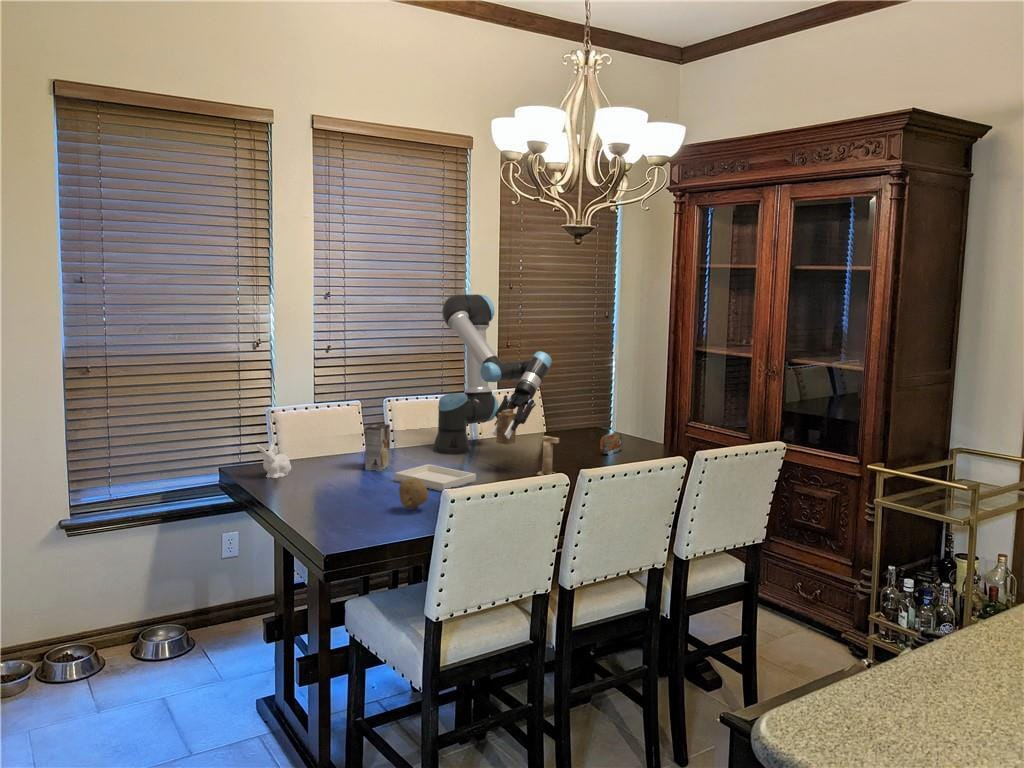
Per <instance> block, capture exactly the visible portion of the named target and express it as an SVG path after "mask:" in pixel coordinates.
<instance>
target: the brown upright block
mask: <svg viewBox="0 0 1024 768" xmlns="http://www.w3.org/2000/svg"><path fill="white" fill-rule="evenodd" d="M515 417H516V413H514V409H513V410H511V409H508V410H503V411H501V413H498V421H497V420H496V421H497V436H496V441H495V442H496V443H497V444H502V445H506V446H508V445H513V444H515V443H516V435H517V429H516V430H515V431H513V433H512V434H511V436H510V438H509V439H507V437H506V436H505V433H506V431H507V429H508V427H509V426H510V424H511V422H512V420H514V419H515ZM514 421H515V420H514Z"/></svg>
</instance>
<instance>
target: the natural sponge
mask: <svg viewBox="0 0 1024 768" xmlns="http://www.w3.org/2000/svg"><path fill="white" fill-rule="evenodd" d="M398 493H399V499H400V502H401V505H402V506H403V507H405V508H406V509H407V510H408V511H409V510H410V511H413V509H414V510H415V509H417V508H418V507H419V506H421V505H423V504H425V503H426V502H427V501H428V500H429V499H428V498H429V491H428V489H427V488H426V487H425V485H424V484H423V482H422V481H421V480H419V479H417V478H411V479H406V480H405V481H403V482H402V483H401V482H400V485H399V487H398Z"/></svg>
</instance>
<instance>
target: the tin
mask: <svg viewBox="0 0 1024 768" xmlns="http://www.w3.org/2000/svg"><path fill="white" fill-rule="evenodd" d="M622 446H623V437H622V435H621V434H620V433H619V432H612V433H609V434H605V435H604V434H603V436H602V437H601V439H600V441H599V451H600V453H601V452H604V453H606V452H608V451H611V450H614V449H617V448H620V447H621V448H622Z"/></svg>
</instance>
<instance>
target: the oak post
mask: <svg viewBox="0 0 1024 768" xmlns="http://www.w3.org/2000/svg"><path fill="white" fill-rule="evenodd" d="M541 441H542V443H543V444H542V446H543V447H542V464H541V465H542V468H541V471H538V472H537V475H544V474H552V473H556V472H555V471H553V458H554V457H553V453H554V444H559V443H560V437H554V436H548V435H543V436H542V440H541Z"/></svg>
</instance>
